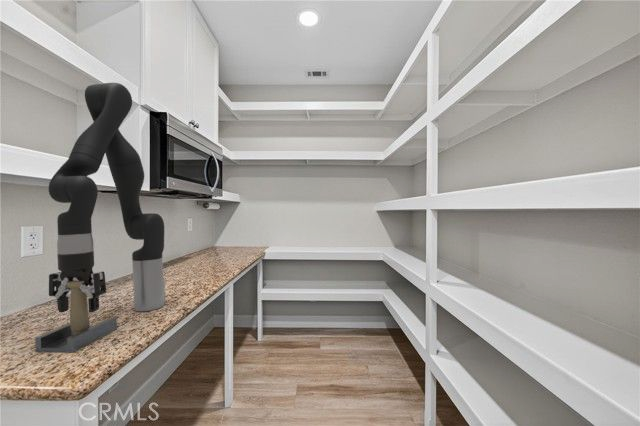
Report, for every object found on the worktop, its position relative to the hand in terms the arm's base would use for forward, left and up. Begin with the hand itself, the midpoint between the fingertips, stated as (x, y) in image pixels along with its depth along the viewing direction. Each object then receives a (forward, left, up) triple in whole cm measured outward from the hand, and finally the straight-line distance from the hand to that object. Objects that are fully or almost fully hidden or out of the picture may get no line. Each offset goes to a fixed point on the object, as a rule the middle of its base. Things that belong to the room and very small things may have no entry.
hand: (78, 311), depth 80 cm
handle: (0, 0, -7) cm, 7 cm away
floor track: (0, 0, -8) cm, 8 cm away
